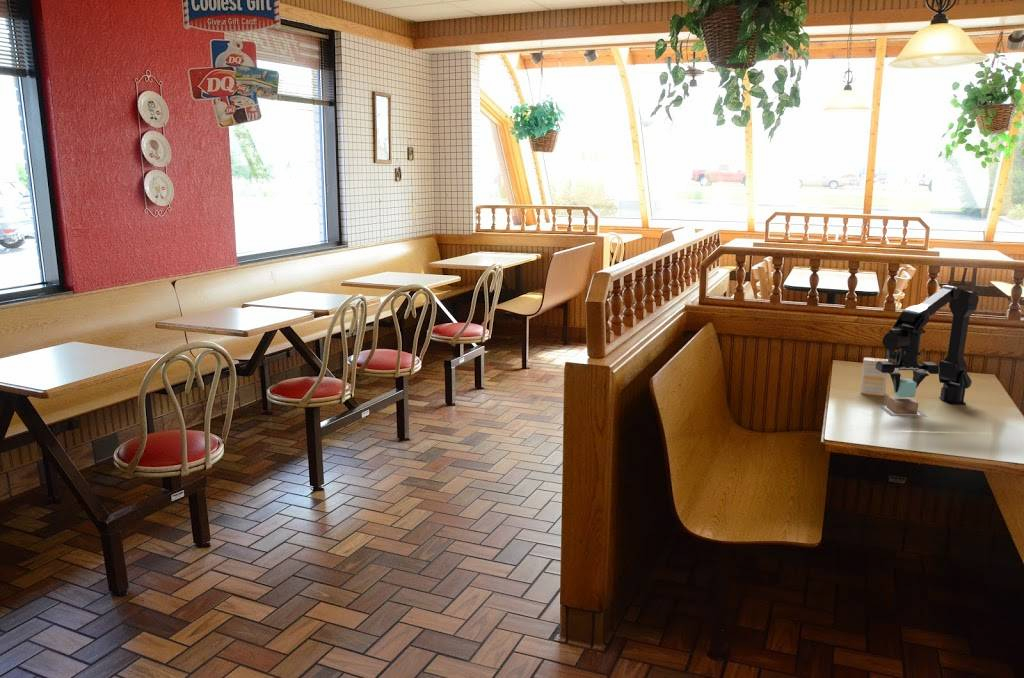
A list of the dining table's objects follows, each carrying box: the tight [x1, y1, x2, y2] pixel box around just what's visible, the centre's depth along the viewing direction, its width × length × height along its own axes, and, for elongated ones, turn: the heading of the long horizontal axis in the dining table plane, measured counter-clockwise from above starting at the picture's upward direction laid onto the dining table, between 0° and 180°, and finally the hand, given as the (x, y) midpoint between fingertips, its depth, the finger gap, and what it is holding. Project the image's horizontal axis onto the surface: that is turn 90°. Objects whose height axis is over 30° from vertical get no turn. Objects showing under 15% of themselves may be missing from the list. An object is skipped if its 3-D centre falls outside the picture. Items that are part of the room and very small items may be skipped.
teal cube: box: [892, 378, 917, 398], centre depth 266 cm, size 5×5×5 cm
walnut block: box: [886, 395, 919, 414], centre depth 268 cm, size 7×7×4 cm
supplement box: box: [860, 356, 889, 397], centre depth 286 cm, size 8×5×13 cm, turn 65°
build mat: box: [876, 404, 928, 418], centre depth 268 cm, size 12×12×1 cm
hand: (904, 392), depth 267 cm, fingers closed on teal cube, 5 cm apart
